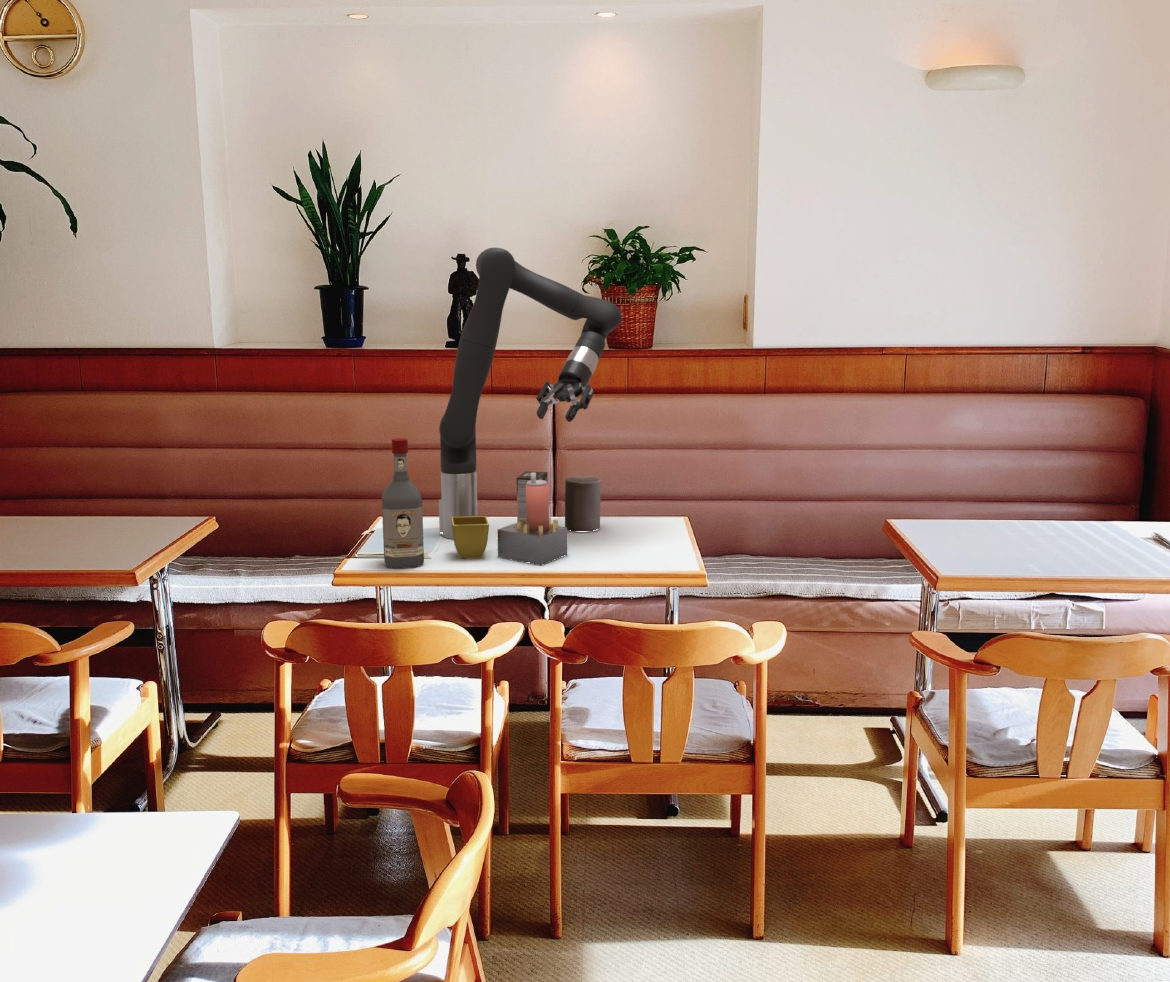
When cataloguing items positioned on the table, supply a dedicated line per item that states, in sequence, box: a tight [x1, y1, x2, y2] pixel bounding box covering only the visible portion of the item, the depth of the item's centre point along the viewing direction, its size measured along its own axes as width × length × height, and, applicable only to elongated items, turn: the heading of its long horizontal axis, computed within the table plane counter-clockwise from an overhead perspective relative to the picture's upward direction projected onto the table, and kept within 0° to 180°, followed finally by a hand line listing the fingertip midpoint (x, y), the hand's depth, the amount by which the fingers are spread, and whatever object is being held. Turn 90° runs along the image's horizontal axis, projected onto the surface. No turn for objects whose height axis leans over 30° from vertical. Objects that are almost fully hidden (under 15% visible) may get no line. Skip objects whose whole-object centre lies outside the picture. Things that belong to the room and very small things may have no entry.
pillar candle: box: [564, 473, 602, 531], centre depth 281 cm, size 10×10×15 cm
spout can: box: [526, 473, 550, 531], centre depth 252 cm, size 5×5×14 cm
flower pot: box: [451, 515, 490, 559], centre depth 255 cm, size 9×9×9 cm
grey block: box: [497, 516, 568, 566], centre depth 255 cm, size 16×11×9 cm
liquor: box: [381, 437, 425, 570], centre depth 246 cm, size 9×9×30 cm
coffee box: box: [516, 471, 549, 523], centre depth 276 cm, size 9×6×16 cm
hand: (553, 418), depth 258 cm, fingers open, 8 cm apart
